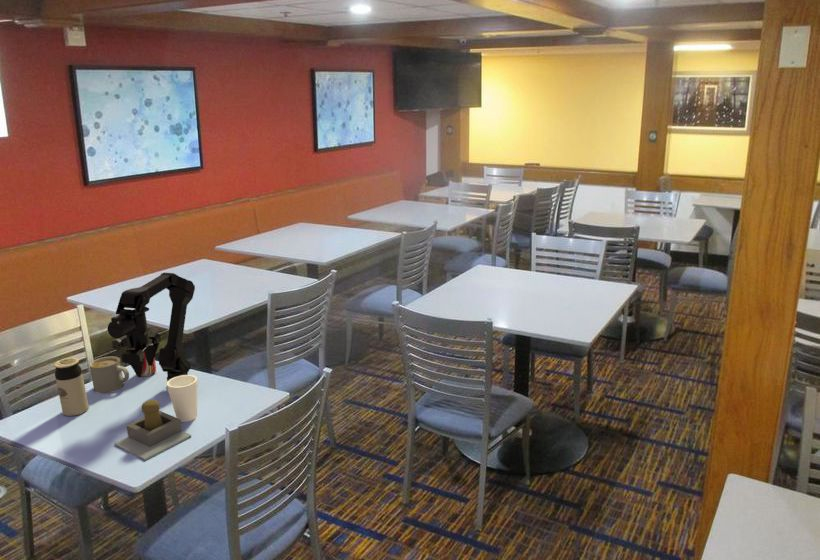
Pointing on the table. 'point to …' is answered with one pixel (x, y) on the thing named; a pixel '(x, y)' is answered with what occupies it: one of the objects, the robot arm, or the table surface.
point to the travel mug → (71, 386)
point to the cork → (152, 414)
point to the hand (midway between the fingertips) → (145, 371)
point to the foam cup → (184, 396)
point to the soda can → (148, 367)
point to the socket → (152, 437)
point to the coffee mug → (108, 374)
